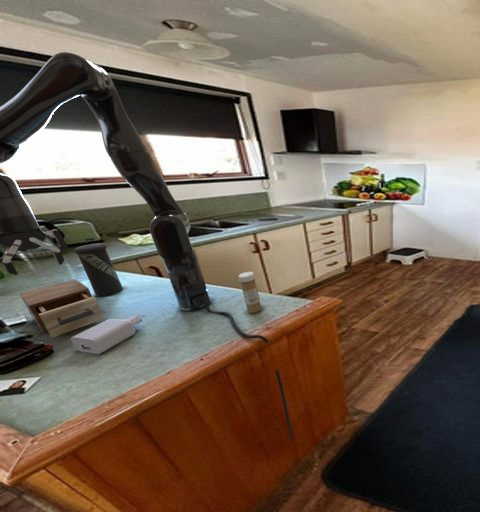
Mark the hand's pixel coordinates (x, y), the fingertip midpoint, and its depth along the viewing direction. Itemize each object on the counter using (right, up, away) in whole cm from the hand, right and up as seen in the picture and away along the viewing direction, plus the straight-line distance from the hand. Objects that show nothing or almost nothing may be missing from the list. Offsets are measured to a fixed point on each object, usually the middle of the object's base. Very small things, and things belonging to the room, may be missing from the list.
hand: (39, 269), depth 79 cm
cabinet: (-7, -17, +13) cm, 23 cm away
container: (-10, -11, +31) cm, 34 cm away
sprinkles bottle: (+57, -15, +13) cm, 61 cm away
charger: (+22, -20, +1) cm, 30 cm away
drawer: (+2, -18, +7) cm, 19 cm away
